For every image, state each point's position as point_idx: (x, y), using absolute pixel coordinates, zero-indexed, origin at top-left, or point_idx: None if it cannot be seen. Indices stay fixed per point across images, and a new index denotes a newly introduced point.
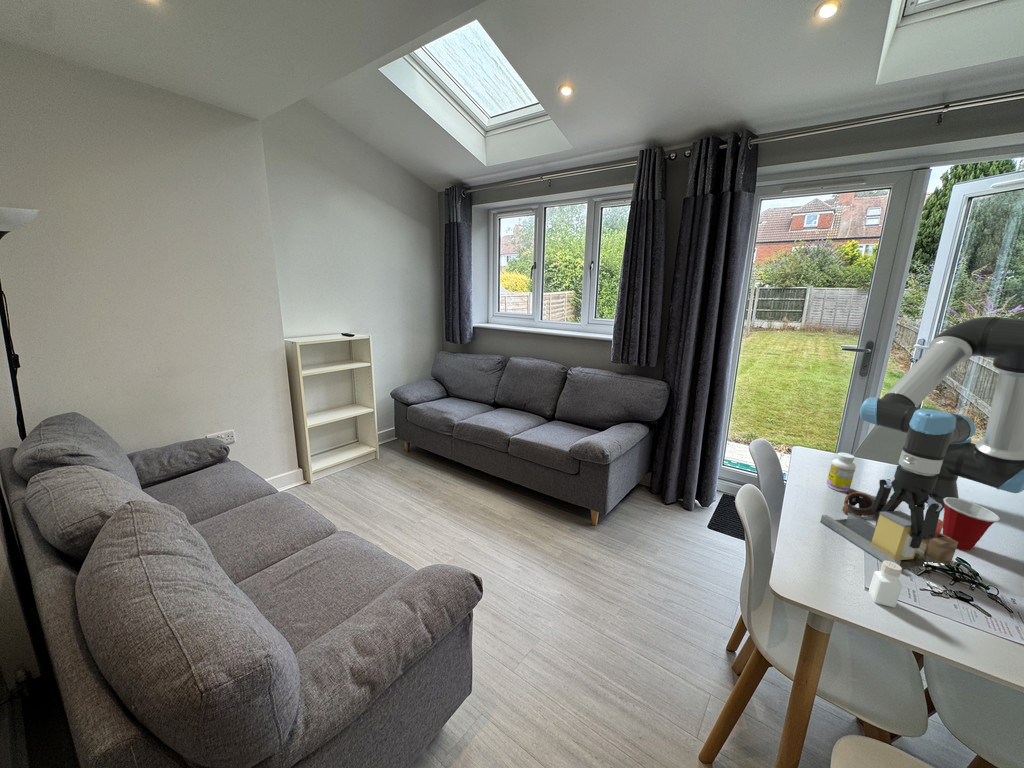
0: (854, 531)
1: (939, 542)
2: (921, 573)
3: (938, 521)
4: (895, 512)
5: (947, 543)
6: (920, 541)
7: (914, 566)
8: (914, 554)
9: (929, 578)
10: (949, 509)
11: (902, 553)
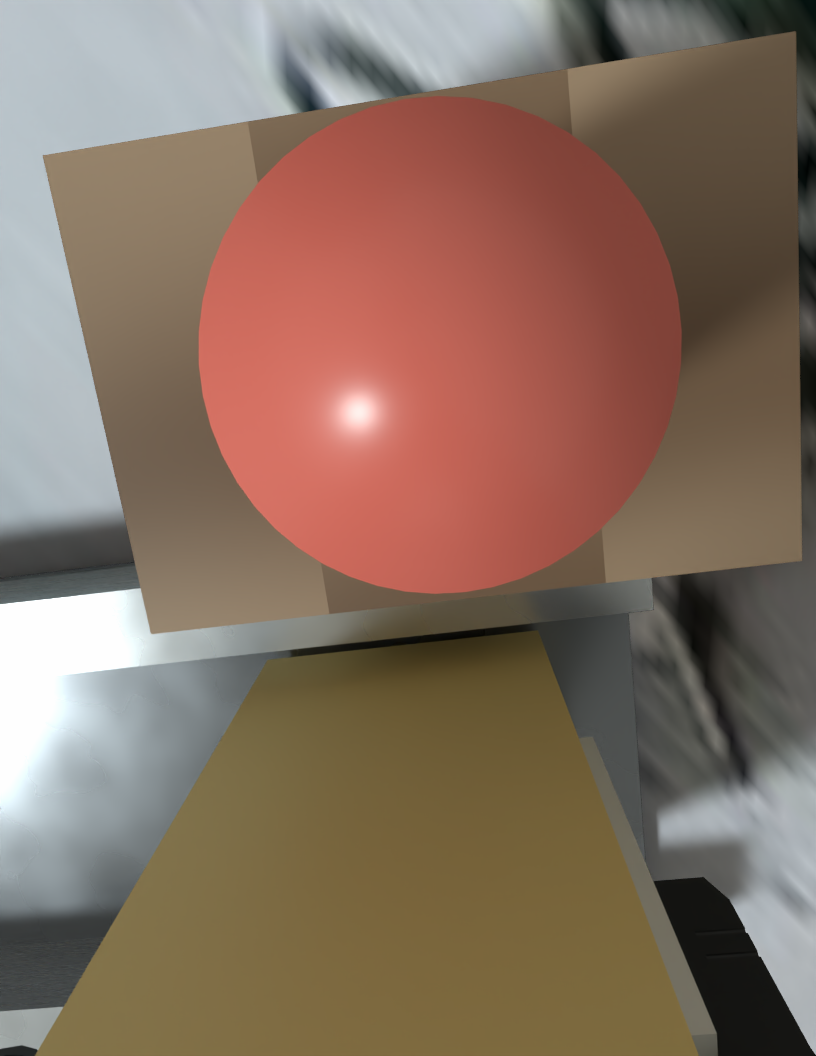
0: (18, 809)
1: (760, 548)
2: (722, 712)
3: (525, 356)
4: None
5: (794, 380)
6: (779, 1013)
7: (632, 703)
8: (548, 662)
9: (801, 705)
10: None
11: None
